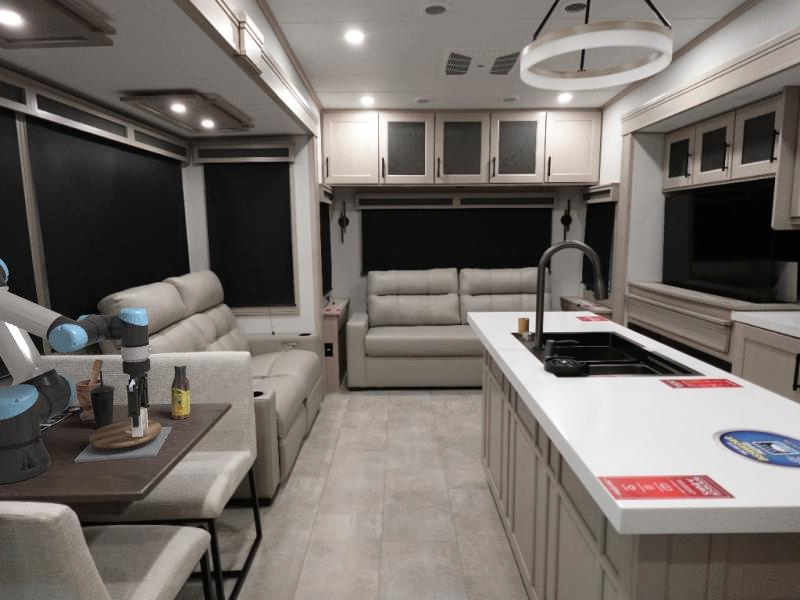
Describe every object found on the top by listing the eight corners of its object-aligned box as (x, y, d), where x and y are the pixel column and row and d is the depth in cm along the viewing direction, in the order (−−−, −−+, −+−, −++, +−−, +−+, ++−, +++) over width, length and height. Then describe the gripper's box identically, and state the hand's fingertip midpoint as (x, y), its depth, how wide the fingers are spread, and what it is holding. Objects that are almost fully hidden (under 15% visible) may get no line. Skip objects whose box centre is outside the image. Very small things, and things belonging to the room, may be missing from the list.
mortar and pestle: (82, 411, 187) (78, 359, 185) (109, 409, 191) (105, 357, 188) (75, 422, 177) (71, 367, 174) (103, 419, 180) (100, 365, 177)
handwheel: (77, 444, 156) (74, 406, 154) (139, 424, 173) (137, 390, 171) (111, 460, 145) (109, 420, 144) (174, 437, 162) (172, 401, 160)
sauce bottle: (168, 418, 182) (165, 365, 179) (182, 413, 187) (180, 361, 185) (180, 421, 179) (177, 367, 176) (194, 416, 184) (192, 363, 182)
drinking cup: (122, 423, 176) (118, 368, 174) (107, 431, 169) (103, 374, 166) (101, 422, 177) (98, 367, 174) (86, 430, 169) (82, 373, 167)
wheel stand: (74, 462, 146) (74, 459, 146) (101, 433, 167) (101, 431, 167) (155, 456, 151) (155, 453, 151) (171, 428, 172) (171, 426, 172)
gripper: (141, 366, 143) (145, 443, 146) (157, 351, 161) (160, 420, 164) (112, 367, 141) (117, 445, 144) (131, 352, 159) (135, 422, 162)
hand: (140, 432), depth 154 cm, fingers open, 5 cm apart
